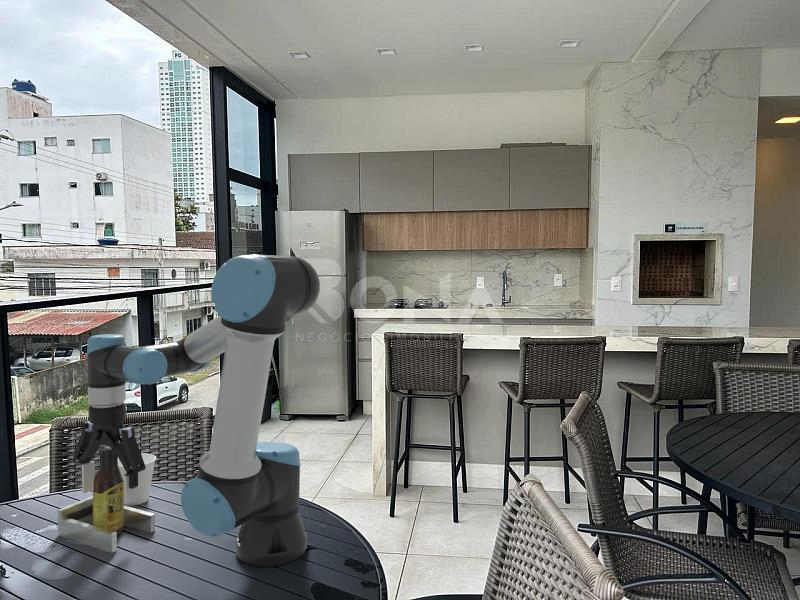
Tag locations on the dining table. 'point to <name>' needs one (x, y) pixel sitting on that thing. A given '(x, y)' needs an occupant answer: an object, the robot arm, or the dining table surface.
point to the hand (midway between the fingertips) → (109, 496)
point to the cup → (142, 478)
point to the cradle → (78, 527)
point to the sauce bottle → (108, 493)
